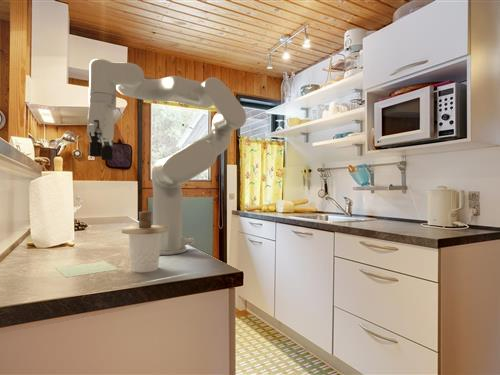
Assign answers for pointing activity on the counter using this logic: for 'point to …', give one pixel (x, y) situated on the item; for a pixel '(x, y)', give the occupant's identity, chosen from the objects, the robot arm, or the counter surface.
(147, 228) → the lid
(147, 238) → the white cup
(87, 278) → the counter surface
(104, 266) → the mat
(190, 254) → the counter surface
